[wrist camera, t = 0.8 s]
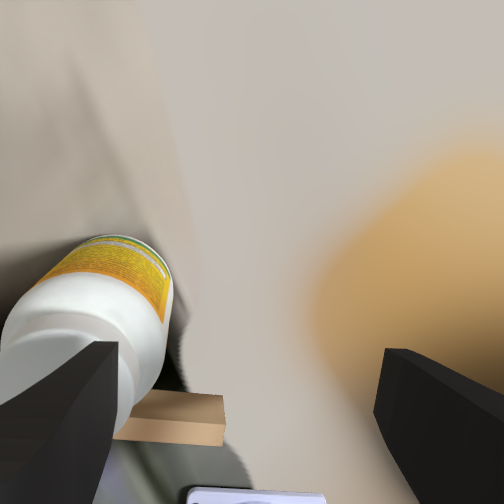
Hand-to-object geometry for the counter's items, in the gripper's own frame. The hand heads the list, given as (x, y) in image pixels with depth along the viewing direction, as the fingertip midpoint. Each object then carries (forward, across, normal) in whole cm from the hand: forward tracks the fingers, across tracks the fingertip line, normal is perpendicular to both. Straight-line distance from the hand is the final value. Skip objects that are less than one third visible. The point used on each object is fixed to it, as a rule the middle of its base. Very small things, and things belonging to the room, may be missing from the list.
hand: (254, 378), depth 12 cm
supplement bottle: (+11, +5, +2) cm, 12 cm away
